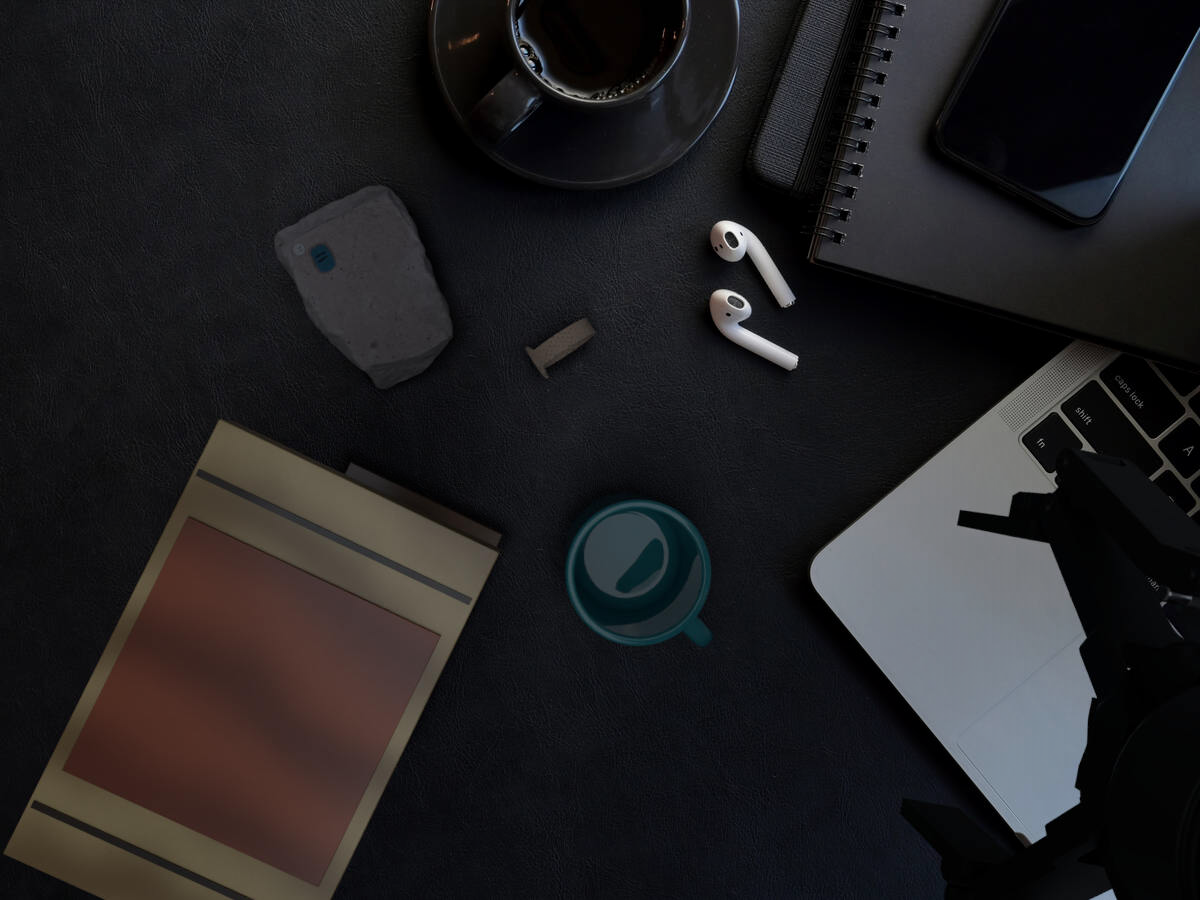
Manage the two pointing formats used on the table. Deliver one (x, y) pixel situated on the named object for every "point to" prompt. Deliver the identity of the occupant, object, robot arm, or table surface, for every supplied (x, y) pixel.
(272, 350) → the table surface
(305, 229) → the decorative stone
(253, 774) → the board
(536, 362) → the flanged peg
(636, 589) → the cup
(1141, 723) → the robot arm
